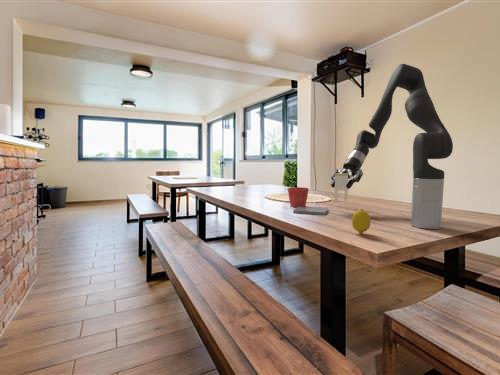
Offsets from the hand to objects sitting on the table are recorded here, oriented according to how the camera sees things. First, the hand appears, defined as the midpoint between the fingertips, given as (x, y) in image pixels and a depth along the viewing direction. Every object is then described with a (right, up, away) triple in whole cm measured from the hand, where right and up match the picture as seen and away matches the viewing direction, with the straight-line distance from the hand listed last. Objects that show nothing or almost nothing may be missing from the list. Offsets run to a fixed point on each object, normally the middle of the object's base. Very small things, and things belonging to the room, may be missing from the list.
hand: (339, 187), depth 126 cm
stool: (+1, -6, +1) cm, 6 cm away
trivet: (-12, -12, +3) cm, 17 cm away
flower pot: (-16, -10, +19) cm, 27 cm away
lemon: (-6, -15, -38) cm, 41 cm away
